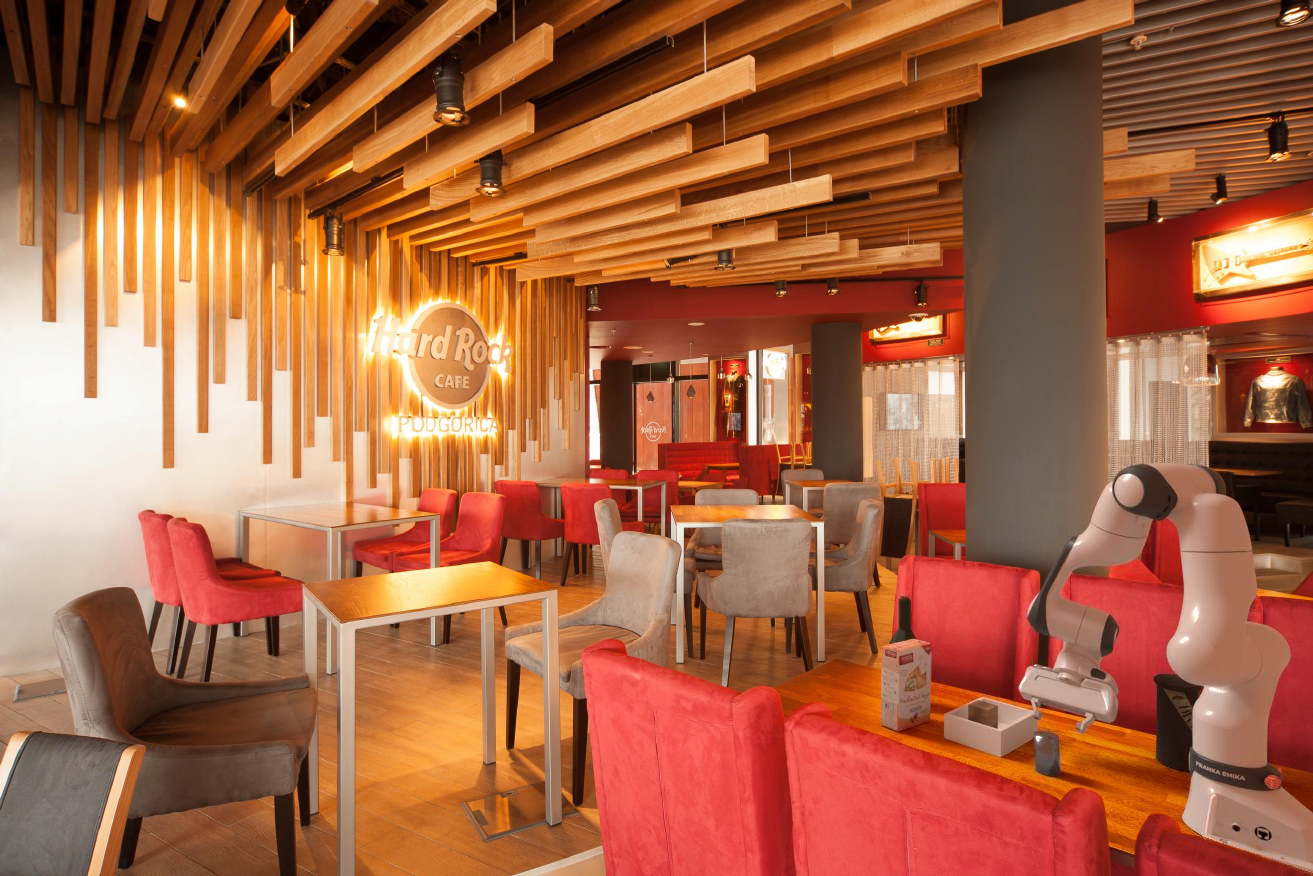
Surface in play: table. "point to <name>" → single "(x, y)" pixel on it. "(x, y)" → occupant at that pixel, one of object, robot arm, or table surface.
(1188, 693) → the container
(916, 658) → the cracker box
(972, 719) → the walnut block
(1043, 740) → the charcoal tin
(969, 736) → the box
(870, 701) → the table surface
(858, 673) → the table surface
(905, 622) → the wine bottle
